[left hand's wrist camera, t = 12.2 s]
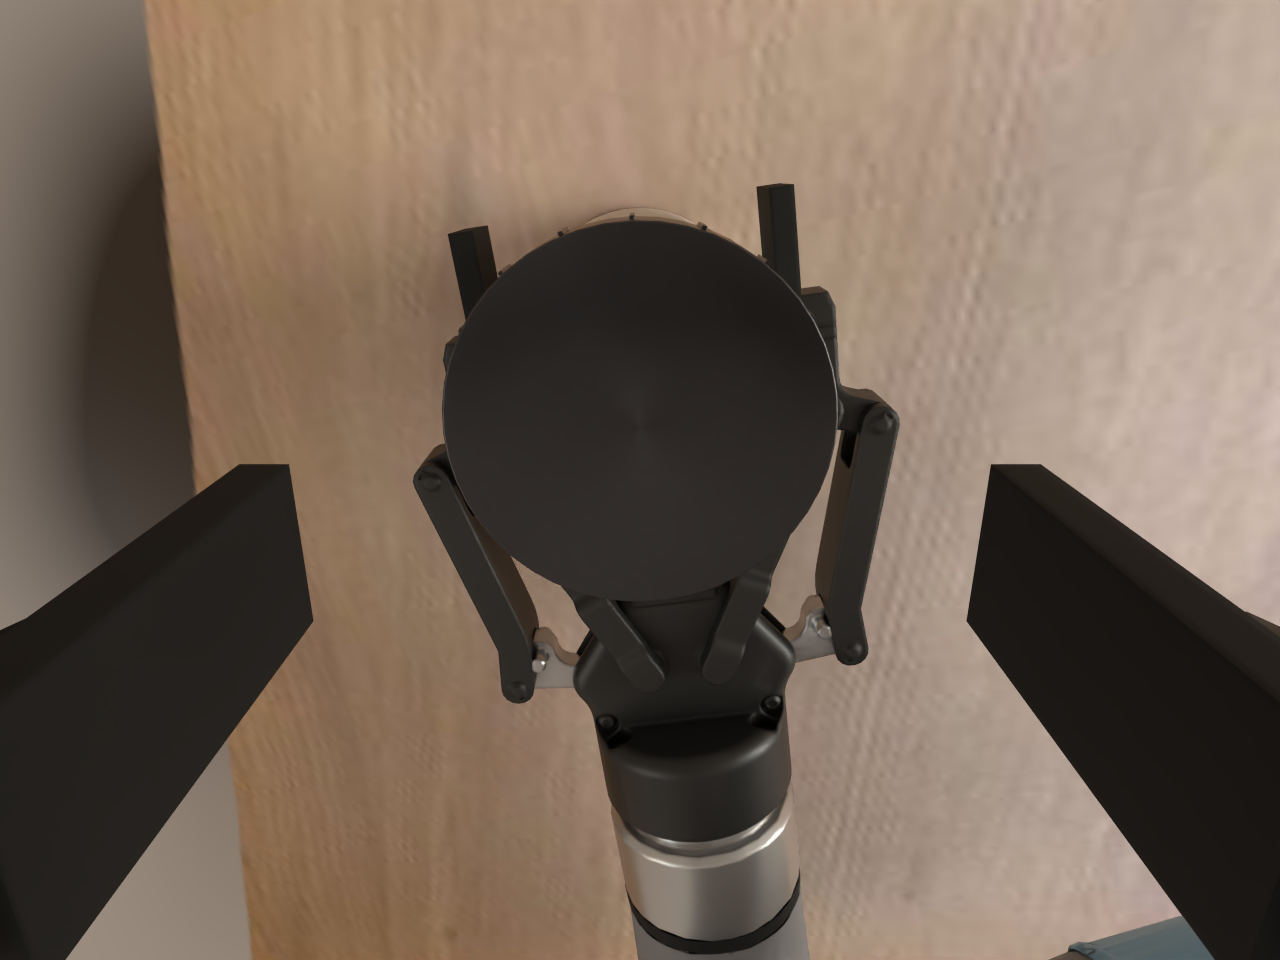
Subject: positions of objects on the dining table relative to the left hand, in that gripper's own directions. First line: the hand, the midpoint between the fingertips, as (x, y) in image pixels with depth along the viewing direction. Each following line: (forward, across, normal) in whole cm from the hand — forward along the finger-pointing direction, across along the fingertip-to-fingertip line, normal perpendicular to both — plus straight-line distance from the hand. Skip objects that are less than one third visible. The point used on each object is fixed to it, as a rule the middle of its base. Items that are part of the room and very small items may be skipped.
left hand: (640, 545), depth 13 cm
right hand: (+16, +1, -4) cm, 16 cm away
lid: (+7, 0, 0) cm, 7 cm away
